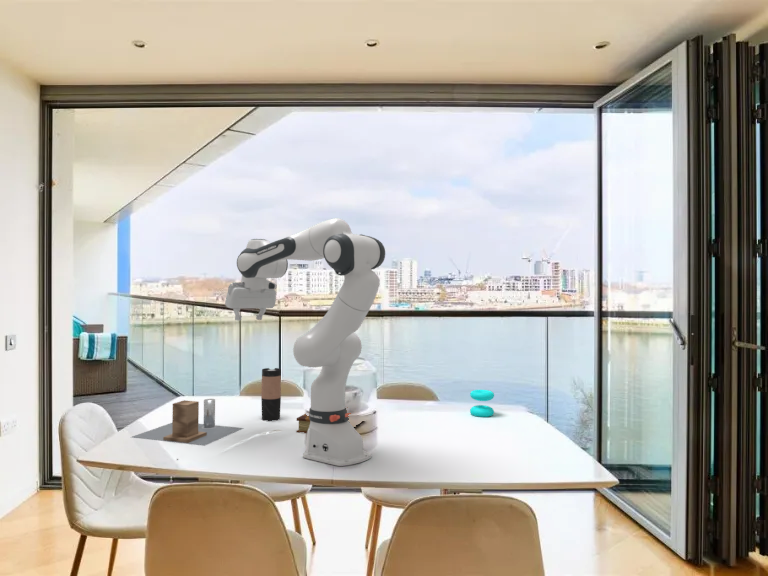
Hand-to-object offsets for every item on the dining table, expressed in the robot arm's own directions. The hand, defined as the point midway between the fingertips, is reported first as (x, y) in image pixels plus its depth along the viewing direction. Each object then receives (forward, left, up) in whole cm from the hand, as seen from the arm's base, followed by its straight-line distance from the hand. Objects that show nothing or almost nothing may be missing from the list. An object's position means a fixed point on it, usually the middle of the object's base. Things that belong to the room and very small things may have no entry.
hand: (248, 319), depth 203 cm
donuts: (-44, -86, -41) cm, 105 cm away
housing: (+4, +22, -40) cm, 46 cm away
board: (+9, +18, -41) cm, 46 cm away
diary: (-16, -27, -42) cm, 52 cm away
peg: (+12, +9, -40) cm, 42 cm away
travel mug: (+10, -17, -41) cm, 46 cm away
